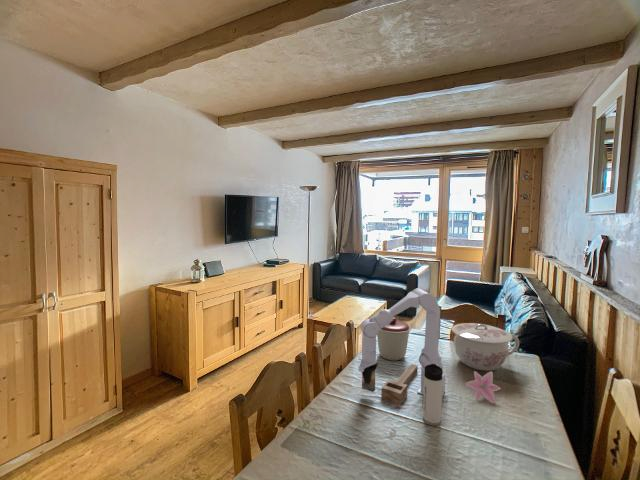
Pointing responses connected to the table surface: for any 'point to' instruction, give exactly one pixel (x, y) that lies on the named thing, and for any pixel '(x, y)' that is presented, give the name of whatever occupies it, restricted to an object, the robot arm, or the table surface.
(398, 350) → the canister
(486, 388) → the lily
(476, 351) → the chamber pot
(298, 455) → the table surface
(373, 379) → the tan square peg
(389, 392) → the post
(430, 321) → the robot arm
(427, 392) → the travel mug
